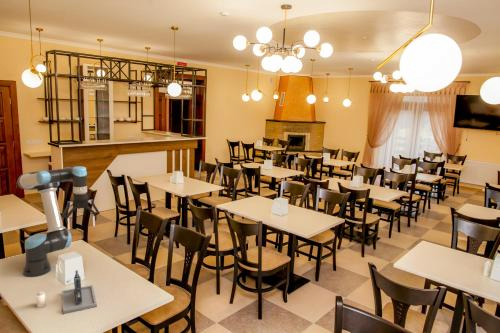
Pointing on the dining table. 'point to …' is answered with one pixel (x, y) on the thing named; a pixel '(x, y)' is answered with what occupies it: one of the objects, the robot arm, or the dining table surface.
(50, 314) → the dining table surface
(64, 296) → the tray
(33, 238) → the robot arm
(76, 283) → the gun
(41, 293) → the shaker
